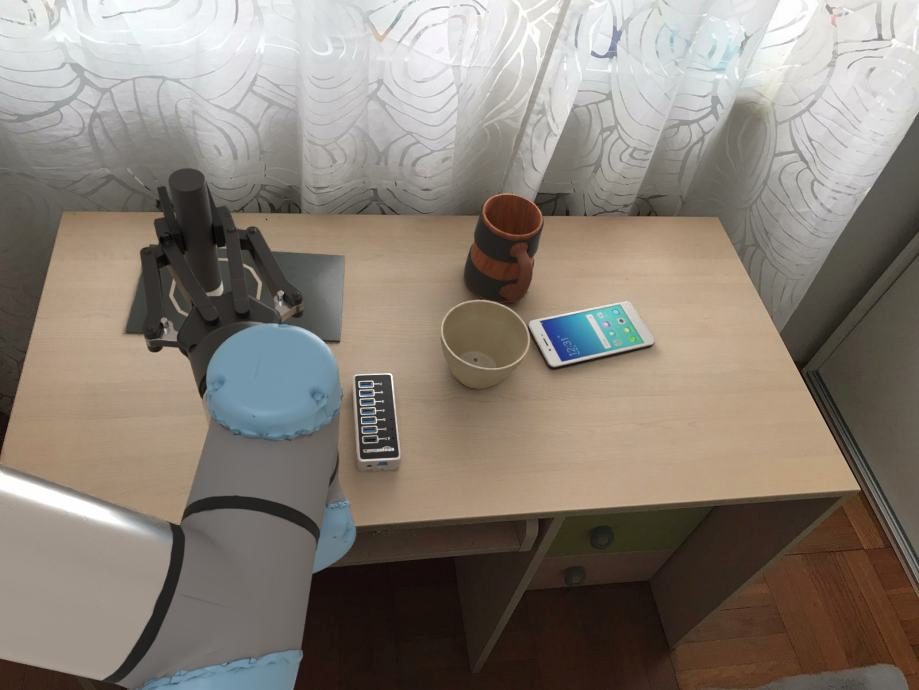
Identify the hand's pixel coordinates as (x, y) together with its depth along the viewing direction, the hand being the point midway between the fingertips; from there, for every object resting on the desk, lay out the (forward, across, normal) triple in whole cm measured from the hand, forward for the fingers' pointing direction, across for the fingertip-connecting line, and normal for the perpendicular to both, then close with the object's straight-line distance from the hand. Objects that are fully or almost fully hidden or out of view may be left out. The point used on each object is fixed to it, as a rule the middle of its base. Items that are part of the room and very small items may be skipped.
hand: (183, 194), depth 71 cm
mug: (-5, +36, -20) cm, 41 cm away
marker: (-5, 0, -8) cm, 9 cm away
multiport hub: (-19, +13, -20) cm, 31 cm away
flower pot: (-16, +27, -20) cm, 37 cm away
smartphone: (-16, +43, -20) cm, 50 cm away
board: (+4, +5, -20) cm, 21 cm away
